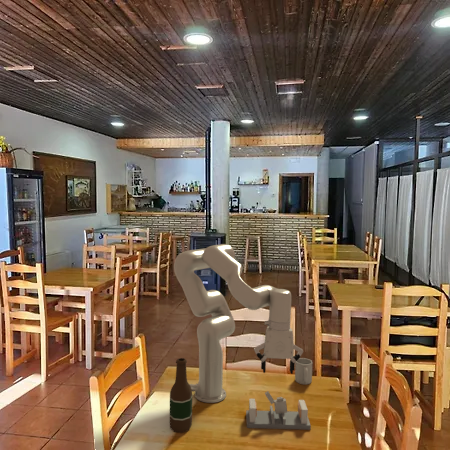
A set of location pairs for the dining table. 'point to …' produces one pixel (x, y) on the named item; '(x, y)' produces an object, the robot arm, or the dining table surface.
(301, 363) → the cup
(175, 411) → the beer bottle
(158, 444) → the dining table surface
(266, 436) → the dining table surface
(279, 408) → the lighter
